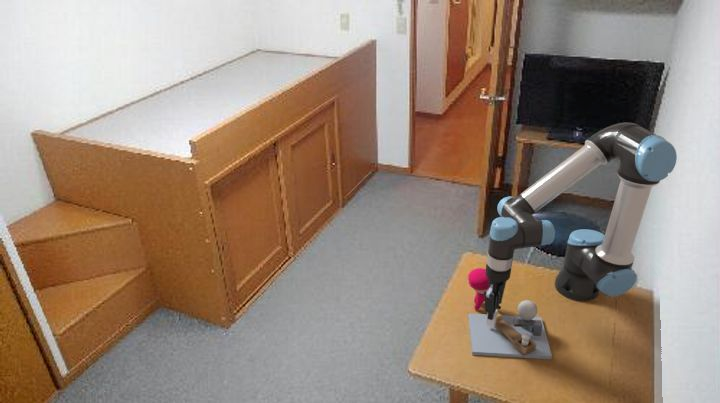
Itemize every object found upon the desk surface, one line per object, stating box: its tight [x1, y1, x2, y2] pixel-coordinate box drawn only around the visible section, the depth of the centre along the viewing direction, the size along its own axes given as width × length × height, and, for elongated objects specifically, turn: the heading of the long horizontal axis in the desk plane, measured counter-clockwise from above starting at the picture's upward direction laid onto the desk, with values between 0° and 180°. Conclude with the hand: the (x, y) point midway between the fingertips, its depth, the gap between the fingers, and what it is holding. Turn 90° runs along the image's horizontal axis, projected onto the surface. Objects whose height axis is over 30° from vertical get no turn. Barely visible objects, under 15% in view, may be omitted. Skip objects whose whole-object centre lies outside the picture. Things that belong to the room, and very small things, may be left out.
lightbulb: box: [517, 299, 538, 330], centre depth 176 cm, size 6×6×11 cm
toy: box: [467, 267, 489, 312], centre depth 186 cm, size 8×8×15 cm
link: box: [494, 311, 536, 356], centre depth 174 cm, size 18×5×4 cm, turn 29°
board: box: [467, 313, 553, 360], centre depth 175 cm, size 24×18×7 cm
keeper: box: [513, 319, 544, 336], centre depth 175 cm, size 9×2×6 cm, turn 84°
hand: (490, 324), depth 177 cm, fingers closed
